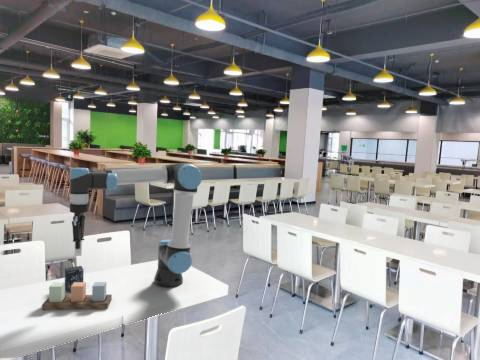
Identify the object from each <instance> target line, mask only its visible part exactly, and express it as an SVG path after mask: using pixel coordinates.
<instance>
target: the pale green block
mask: <svg viewBox="0 0 480 360" xmlns="http://www.w3.org/2000/svg"><path fill="white" fill-rule="evenodd" d="M48 290H49V291H48V293H49V294H48V297H49V302H52V303H54V302H62V300H63V299H64V298H65V295H66V290H65V281H64V282H63V281H61V282H52V283H51V284H50V285H49V288H48Z"/></svg>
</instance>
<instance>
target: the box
mask: <svg viewBox="0 0 480 360" xmlns="http://www.w3.org/2000/svg"><path fill="white" fill-rule="evenodd" d="M84 269H85V268H83V266H82V265H78V266H72V267H71V266H69V267H65V268H64V282H65V293H68V292H71V286H72V285H73V283H74V282H84Z"/></svg>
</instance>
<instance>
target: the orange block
mask: <svg viewBox="0 0 480 360" xmlns="http://www.w3.org/2000/svg"><path fill="white" fill-rule="evenodd" d="M86 285H87V283H86V281H83V282H74V283H73V285H72V286H71V291H70V295H71V302H83V300H84V299H85V297H86V295H87V291H86V290H87V288H86V287H87V286H86Z"/></svg>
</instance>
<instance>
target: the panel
mask: <svg viewBox="0 0 480 360" xmlns="http://www.w3.org/2000/svg"><path fill="white" fill-rule="evenodd" d="M112 295H113V294H106V298H105V300H104V301H92V294H86V297H85V299H84V300H83V302H71V294H65V298H64V299H63V300H62V302H49V296H48V297H47V298H46V300H45V301H44V302H43V303H42V304H41V310H42V311H62V310H63V311H67V310H69V311H71V310H72V311H73V310H108V309H109V307H110V304H111V302H112V300H113V299H112Z"/></svg>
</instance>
